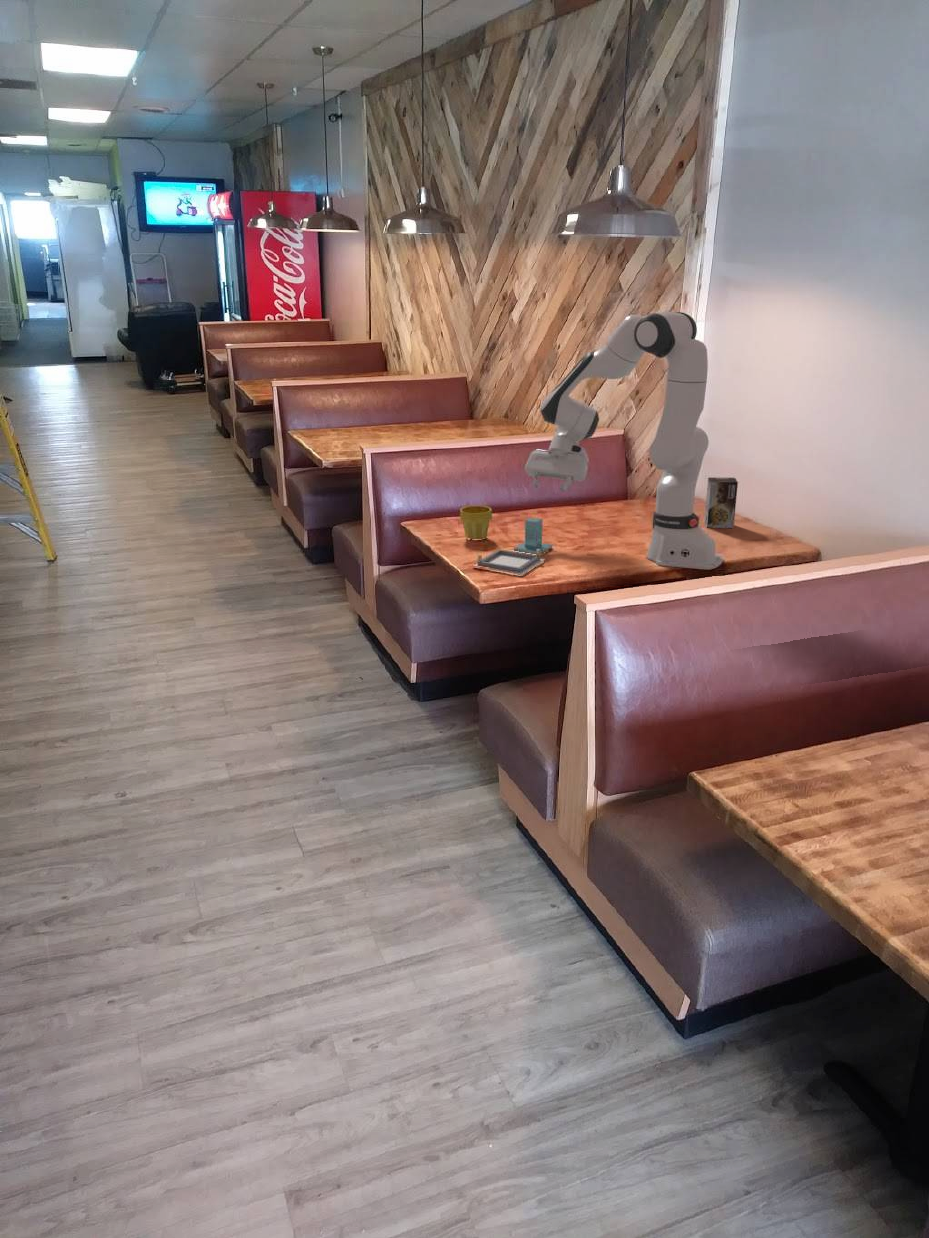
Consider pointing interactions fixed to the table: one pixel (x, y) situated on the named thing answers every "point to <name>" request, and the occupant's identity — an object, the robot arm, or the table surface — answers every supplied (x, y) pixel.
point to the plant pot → (476, 521)
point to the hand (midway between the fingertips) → (548, 488)
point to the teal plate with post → (533, 537)
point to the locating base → (510, 561)
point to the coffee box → (721, 502)
